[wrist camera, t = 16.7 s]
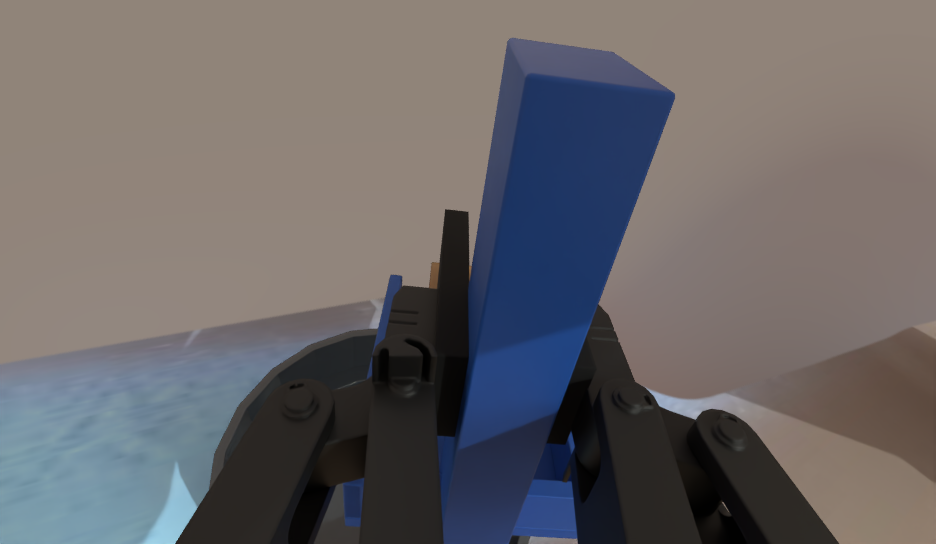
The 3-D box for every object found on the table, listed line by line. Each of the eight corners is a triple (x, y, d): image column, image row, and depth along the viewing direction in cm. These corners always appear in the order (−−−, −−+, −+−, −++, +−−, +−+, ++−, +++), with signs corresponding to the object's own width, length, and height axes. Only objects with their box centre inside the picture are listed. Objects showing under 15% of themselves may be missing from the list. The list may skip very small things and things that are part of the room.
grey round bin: (539, 446, 32) (570, 393, 27) (446, 750, 21) (470, 749, 16) (344, 355, 35) (340, 293, 30) (167, 578, 24) (118, 535, 19)
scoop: (586, 588, 15) (893, 122, 6) (333, 577, 14) (280, 39, 5) (536, 326, 25) (624, 15, 16) (388, 313, 24) (400, -18, 16)
